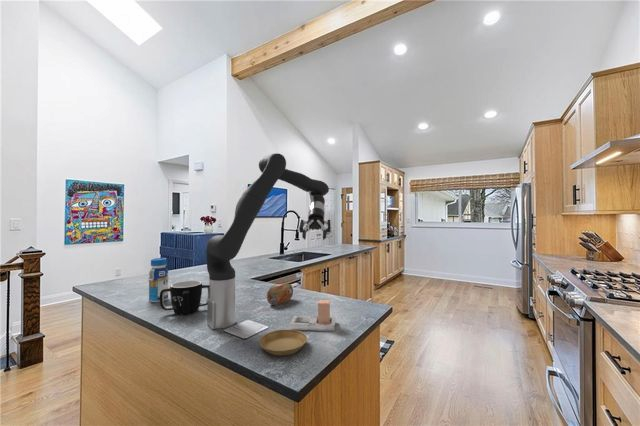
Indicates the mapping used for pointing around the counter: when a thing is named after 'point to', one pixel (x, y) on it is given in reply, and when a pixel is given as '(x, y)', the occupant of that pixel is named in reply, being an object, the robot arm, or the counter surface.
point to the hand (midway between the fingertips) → (314, 238)
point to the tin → (279, 294)
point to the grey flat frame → (311, 323)
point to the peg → (324, 311)
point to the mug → (184, 297)
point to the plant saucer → (283, 342)
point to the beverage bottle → (158, 279)
